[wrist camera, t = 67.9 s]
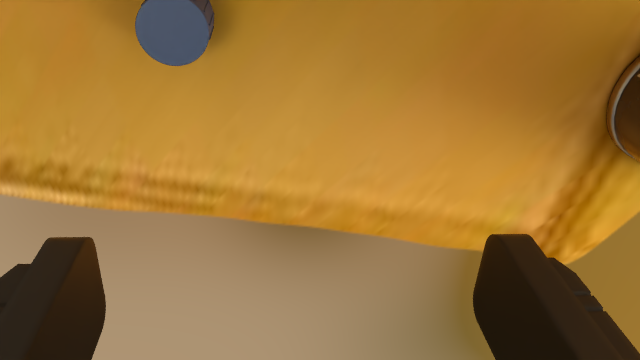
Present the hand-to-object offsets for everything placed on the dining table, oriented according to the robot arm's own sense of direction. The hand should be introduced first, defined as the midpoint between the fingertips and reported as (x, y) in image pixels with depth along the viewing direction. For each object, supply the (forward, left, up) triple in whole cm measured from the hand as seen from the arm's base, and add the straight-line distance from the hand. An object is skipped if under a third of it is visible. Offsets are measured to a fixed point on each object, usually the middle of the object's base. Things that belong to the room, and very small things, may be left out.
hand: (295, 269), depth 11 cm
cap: (+2, +5, -24) cm, 25 cm away
